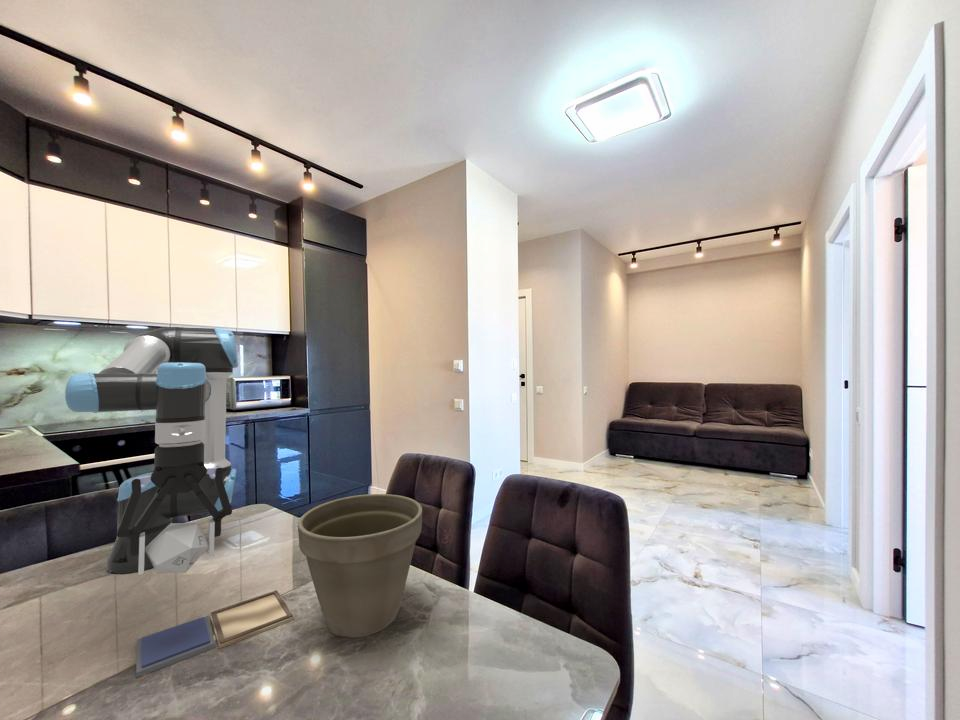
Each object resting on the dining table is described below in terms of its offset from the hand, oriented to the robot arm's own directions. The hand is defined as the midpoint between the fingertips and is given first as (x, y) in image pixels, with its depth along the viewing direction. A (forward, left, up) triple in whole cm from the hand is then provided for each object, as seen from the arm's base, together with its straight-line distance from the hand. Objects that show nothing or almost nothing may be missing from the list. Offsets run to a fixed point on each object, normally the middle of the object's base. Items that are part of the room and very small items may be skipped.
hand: (177, 562), depth 73 cm
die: (0, 0, -1) cm, 1 cm away
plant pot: (+15, +30, -15) cm, 37 cm away
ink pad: (0, 0, -15) cm, 15 cm away
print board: (0, +13, -15) cm, 20 cm away
